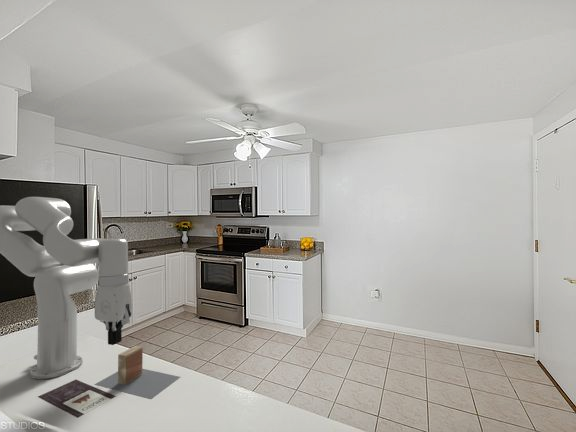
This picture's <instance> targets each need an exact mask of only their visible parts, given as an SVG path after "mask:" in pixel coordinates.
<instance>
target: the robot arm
mask: <svg viewBox="0 0 576 432" xmlns="http://www.w3.org/2000/svg"><path fill="white" fill-rule="evenodd" d="M71 215H72V209H71V206H70V204H69V203H68V202H67V201H66V200H64V199H63V198H56V197H44V196H27V197H23V198H21V199H19V200H18V201H17V202H16V204H15V205H3V204H2V205H0V254H1V256H3V257H4V258H5V259H6V260H7V261H9V262H10V264H12V265H13V266H14V267H16V269H18V270H19V271H20V272H21V273H22V274H24V275H25V276H27V277H31V278H32V277H33V278H34V277H35V278H34V280H33V290H34V293H35V297H36V304H37V354H35V355H34V356H33V360H35V361H36V365H35V366H34V367H32V369H30V373H29V375H30V377H31V378H32V379H36V380H45V379H51V378H52V379H53V378H57V377H60V376H63V375H66V374H68V373H72V372H73V371H75V370H77V369H78V368H79V367H80V366H82V364H83V358H82V356H80V355H77V353H78V352H77V350H78V349H77V348H78V346H77V343H78V342H77V340H78V339H77V336H78V311H77V310H78V308H77V305H76V303H75V302H74V300H73V298H72V297H71V295H73V294H77V293H81V292H84V291H88V290H90V289H93V287H95V286H96V285H97V284H98V286H97V288H96V292H95V297H94V298H95V299H94V318H95V319H96V320H97V321H99V322H101V323H103V324H104V325H105V330H106V331H107V344H108V345H111V346H114V345H116V344H119V343H121V342H122V340H123V339H122V337H123V336H122V329H123V328H124V325H125V326H126V325H129V324H130V323H131V320H130V318H131V317H132V314H133V299H132V293H131V292H132V291H131V287H130V284H129V244H128V243H129V242H128V241H127V240H126V239H125V238H104V237H103V238H102V237H101V238H99V237H96V238H79V239H73V238H71V237H69V236H68V235H69V234H70V232H72V230H73V228H74V221H73V219H72V217H71ZM25 231H26V232H27V231H29V232H30V231H31V232H32V231H37V232H39V233H40V234H41V235H43V236H42V243H43V245H41V244H40V243H38V242H37V241H35V240H34V239H33V237H31V236H29V235H27V234H25V233H23V232H25ZM95 264H98V269H97V267H96V265H95Z"/></svg>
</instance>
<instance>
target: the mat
mask: <svg viewBox="0 0 576 432" xmlns="http://www.w3.org/2000/svg"><path fill="white" fill-rule="evenodd" d="M180 378H181V376H178V375H173V374H168V373H164V372H160V371H156V370H151V369H145V368H142V375H140V376H139V377H137V378H135V379H134V380H132V381H131V382H129V383H127V384H126V385H122V384H118V371H116V372H114V373H112V374H111V375H109V376H107V377H106V378H103V379H101V380H99V381H98V382H96V383H94V385H95V386H99V387H103V388H107V389H111V390H115V391H118V392H120V393H121V392H122V393H126V394H128V395H129V394H130V395H134V396H138V397H141V398H146V399H147V400H153V398H156V396H158V395H159V394H160V393H161V392H163V391H164V390H165V389H168V387H170V386H171V385H173V383H175V382H177V380H179V379H180Z"/></svg>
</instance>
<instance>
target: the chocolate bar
mask: <svg viewBox="0 0 576 432" xmlns="http://www.w3.org/2000/svg"><path fill="white" fill-rule="evenodd" d="M37 397H38V398H39V399H41V400H43V401H44V402H47V403H48V404H50V405H53V406H55V407H57V408H58V409H61V410H62V411H64V412H66V413H68V414H70V415H71V416H73V417H75V418H80V417H81V416H84V415H85V414H87V413H89V412H90V411H93V410H95V409H96V408H97V407H99V406H101V405H103V404H105V403H107V402H109V401H110V400H112V399H114V398H116V397H117V396H116V395H114V394H112V393H109V392H108V391H104V390H102V389H100V388H97V387H95V386H94V385H93V386H92V385H90V384H88V383H84V382H82V381H81V380H78V379H74V380H72V381H69V382H67V383H65V384H63V385H60V386H58V387H56V388H54V389H51V390H49V391H47V392H45V393H43V394H40V395H38V396H37Z"/></svg>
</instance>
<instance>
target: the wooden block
mask: <svg viewBox="0 0 576 432" xmlns="http://www.w3.org/2000/svg"><path fill="white" fill-rule="evenodd" d="M143 349H144V348H143V346H139V345H135V346H132V347H131V348H129V349H127V350H125V351H123V352H121V353H119V354H118V355H117V356H118V357H117V372H118V384H122V385H126V384H127V383H129V382H131V381H132V380H134V379H135V378H137V377H139V376H140V375H142V369H143V351H144V350H143Z"/></svg>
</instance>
